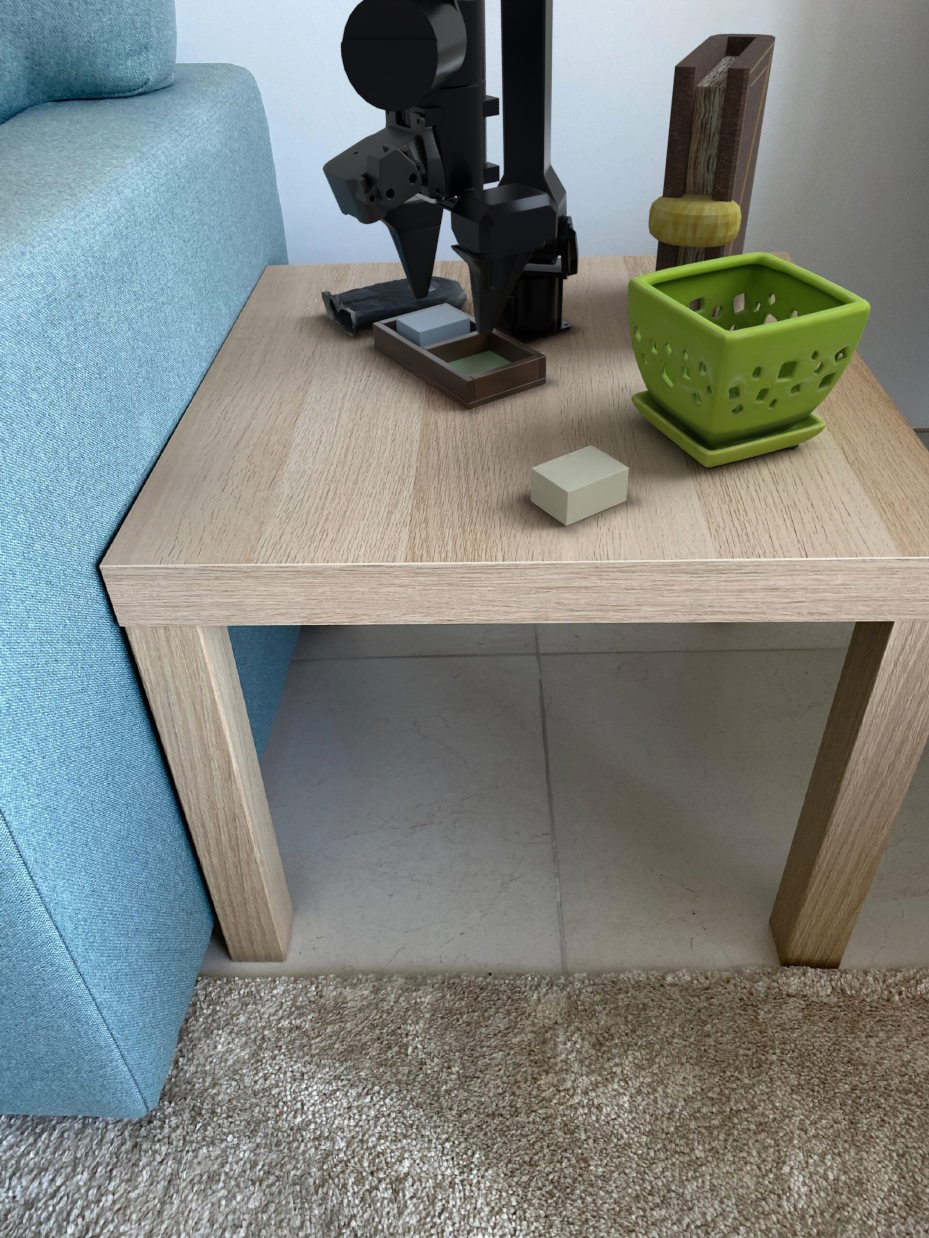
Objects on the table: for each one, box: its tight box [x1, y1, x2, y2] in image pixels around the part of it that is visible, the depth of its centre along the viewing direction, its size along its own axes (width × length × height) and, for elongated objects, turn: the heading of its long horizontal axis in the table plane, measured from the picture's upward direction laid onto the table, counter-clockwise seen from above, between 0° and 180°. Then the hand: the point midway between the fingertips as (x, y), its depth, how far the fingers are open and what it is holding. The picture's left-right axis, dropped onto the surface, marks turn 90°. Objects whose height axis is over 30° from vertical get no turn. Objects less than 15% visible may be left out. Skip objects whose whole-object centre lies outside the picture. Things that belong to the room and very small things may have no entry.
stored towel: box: [396, 305, 470, 348], centre depth 95 cm, size 6×4×3 cm
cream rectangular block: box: [530, 444, 630, 527], centre depth 72 cm, size 6×4×3 cm
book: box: [647, 33, 776, 317], centre depth 93 cm, size 22×8×25 cm, turn 159°
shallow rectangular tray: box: [372, 303, 547, 410], centre depth 93 cm, size 9×17×3 cm, turn 34°
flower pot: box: [627, 251, 871, 469], centre depth 77 cm, size 14×14×13 cm
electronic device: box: [321, 275, 469, 337], centre depth 103 cm, size 9×6×15 cm
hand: (451, 315), depth 71 cm, fingers open, 9 cm apart
